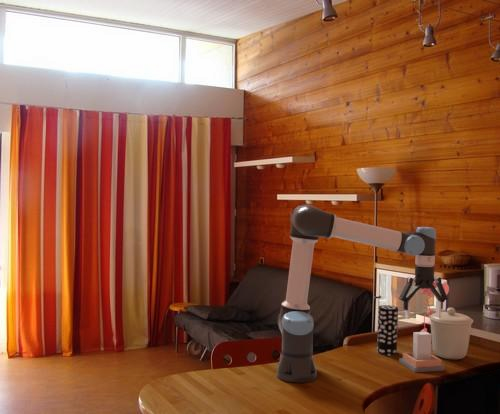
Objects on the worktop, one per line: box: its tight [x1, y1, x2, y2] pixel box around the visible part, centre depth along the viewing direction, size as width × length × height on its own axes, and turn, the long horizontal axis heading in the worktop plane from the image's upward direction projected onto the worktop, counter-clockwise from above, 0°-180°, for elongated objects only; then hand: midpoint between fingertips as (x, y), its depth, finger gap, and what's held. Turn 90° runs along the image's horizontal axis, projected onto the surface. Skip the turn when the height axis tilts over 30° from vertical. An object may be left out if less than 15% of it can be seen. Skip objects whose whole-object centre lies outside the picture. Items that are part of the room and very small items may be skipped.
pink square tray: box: [398, 351, 445, 373], centre depth 231 cm, size 13×13×4 cm
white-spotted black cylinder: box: [376, 304, 399, 357], centre depth 248 cm, size 8×8×20 cm
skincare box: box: [412, 331, 432, 360], centre depth 231 cm, size 6×4×12 cm
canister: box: [428, 307, 474, 360], centre depth 245 cm, size 18×18×21 cm
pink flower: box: [420, 281, 450, 352], centre depth 262 cm, size 15×26×35 cm, turn 22°
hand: (422, 317), depth 230 cm, fingers open, 13 cm apart
